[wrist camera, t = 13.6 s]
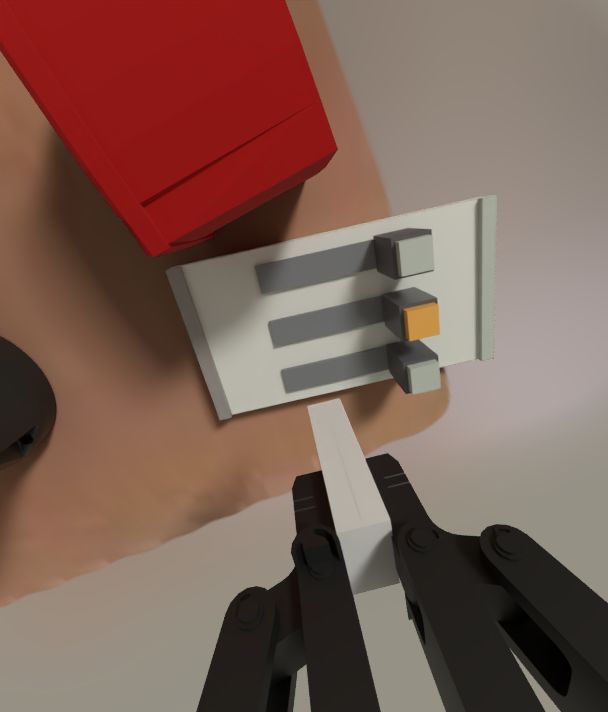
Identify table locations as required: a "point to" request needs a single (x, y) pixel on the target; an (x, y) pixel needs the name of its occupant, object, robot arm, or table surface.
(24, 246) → the table surface
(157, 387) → the table surface
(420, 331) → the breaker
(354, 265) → the white slider panel
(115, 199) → the red rectangular box
